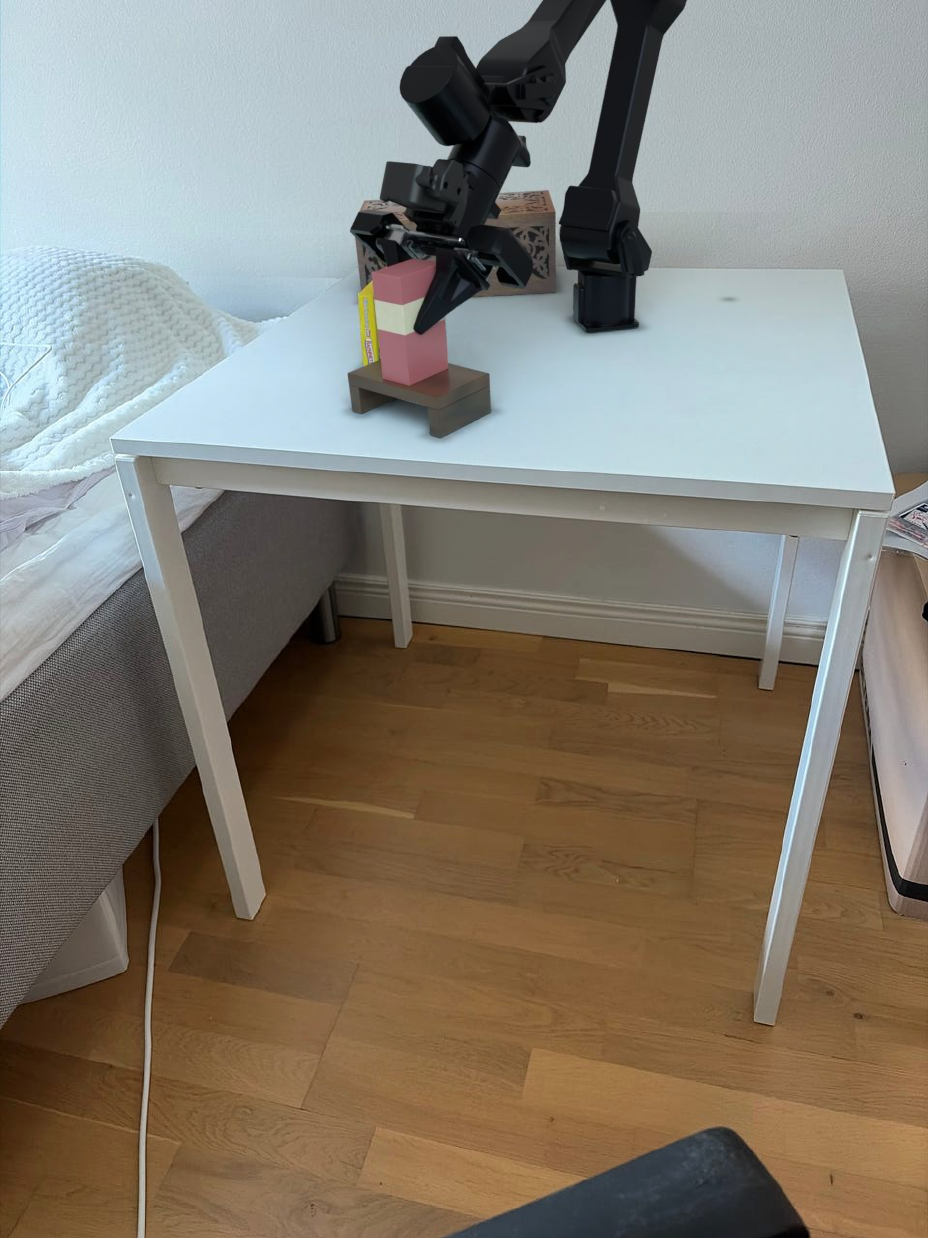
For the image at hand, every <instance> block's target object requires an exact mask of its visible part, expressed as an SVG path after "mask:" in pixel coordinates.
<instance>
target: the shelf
mask: <svg viewBox="0 0 928 1238" xmlns="http://www.w3.org/2000/svg"><path fill="white" fill-rule="evenodd" d="M490 376H491V375H490V372H486V371H482V370H478V369H473V368H471V367H465V366H462V365H457V364H453V363H449V362H448V369H446V370H444V371H442V372H440V373H437V374H435V375H433V376H431V377H429V378H426V379H424V380H422V381H420V382H418V383H415V384H413V385H411V386H407V385H404V384H400V383H396V382H393V381H389V380H385V379H383V376H382V367H381V359H380V360H378V361H375V362H373V363H371V364H368V365H366V366H363V365H362V366H361V367H359V368H356V369H354V370H351V371H348V372H347V381H348V388H349V389H348V390H349V396H350V404H351V411H352V412H353V413H357V414H360V415H363V414H365V413H367V412H370V411H372V410H373V409H376V408H378V407H380V406H382V405H385V404H388V403H389V402H392V401H394V400H396V399H398V400H402V401H405V402H408V403H412V404H416V405H420V406H422V407H423V406H424V407H427V415H428V416H427V419H428V426H429V427H428V429H429V436H432V437H435V438H439V439H442V438H444V437H446V436H448V435H450V434H452V433H453V432H456V431H458V430H459V429H461V428H463V427H465V426H467V425H469V424H471V423H473V422H475V421H477V420H479V419H481V418H483V417H485V416H487V415H489V414H491V413H492V404H491V400H492V399H491V378H490Z"/></svg>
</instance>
